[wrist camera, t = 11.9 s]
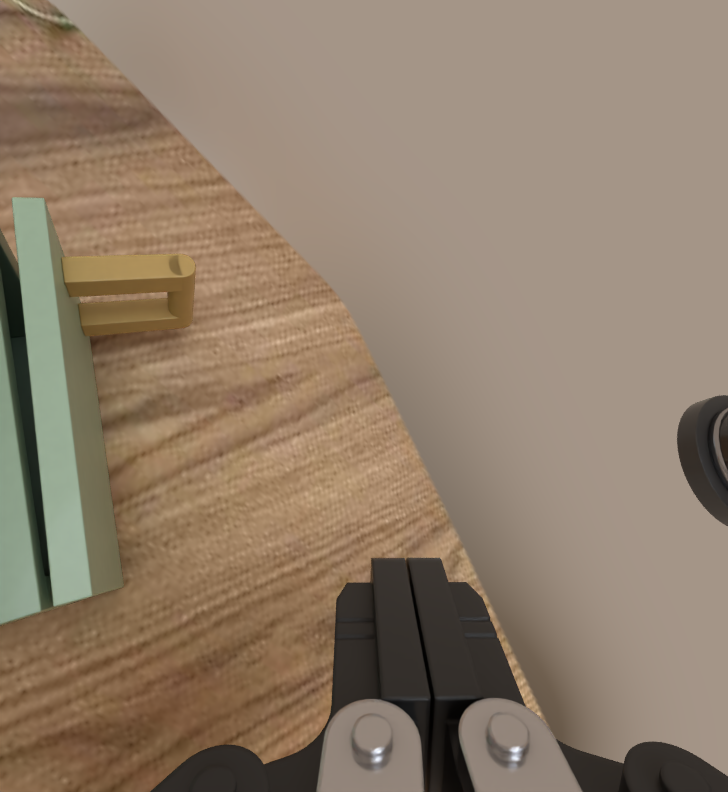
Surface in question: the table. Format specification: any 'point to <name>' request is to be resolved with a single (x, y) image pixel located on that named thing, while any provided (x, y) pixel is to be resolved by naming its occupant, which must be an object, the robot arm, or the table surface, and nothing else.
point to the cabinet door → (83, 384)
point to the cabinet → (19, 465)
